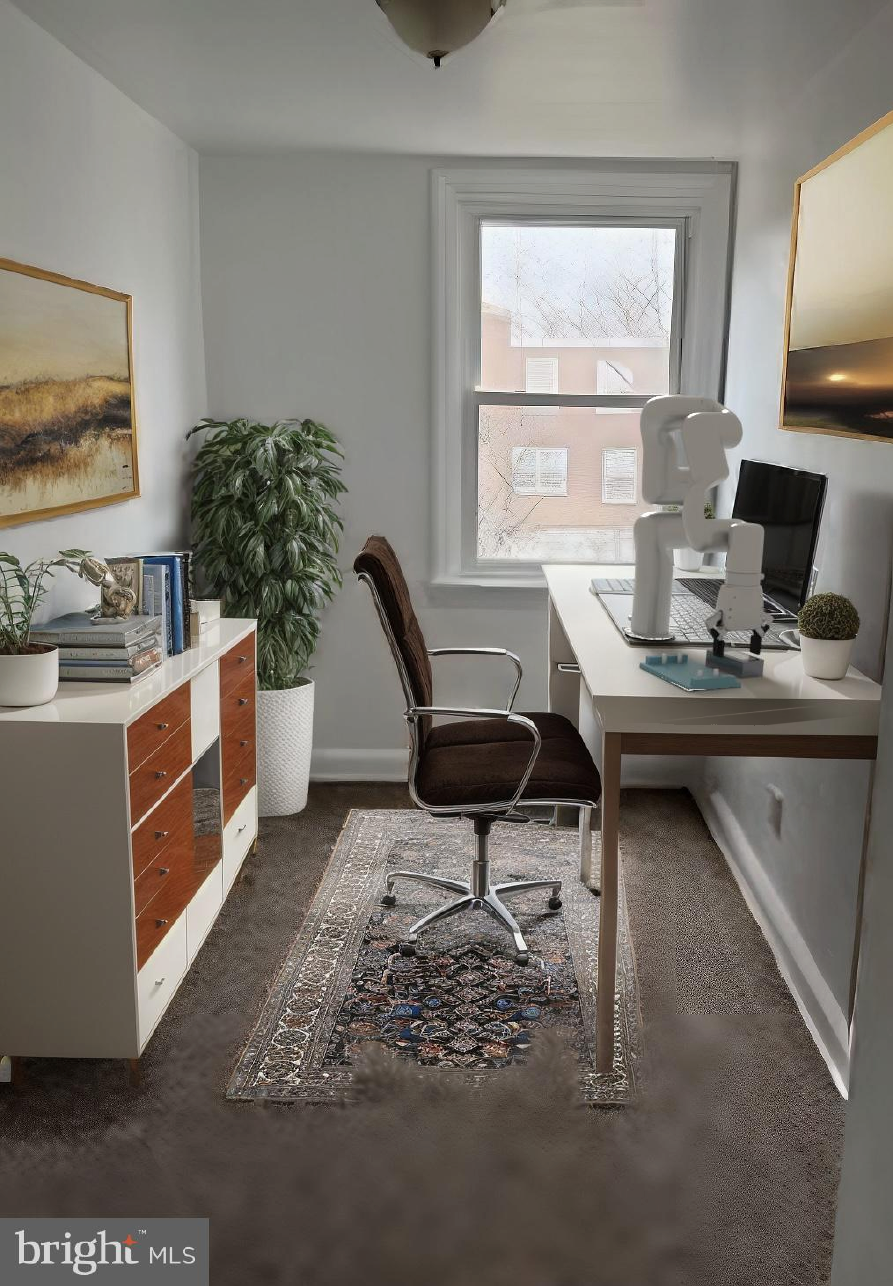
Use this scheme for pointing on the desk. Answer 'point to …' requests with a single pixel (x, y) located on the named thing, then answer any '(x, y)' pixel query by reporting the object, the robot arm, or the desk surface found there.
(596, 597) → the desk surface
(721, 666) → the block
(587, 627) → the desk surface
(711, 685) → the blue pegged tray
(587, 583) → the desk surface
